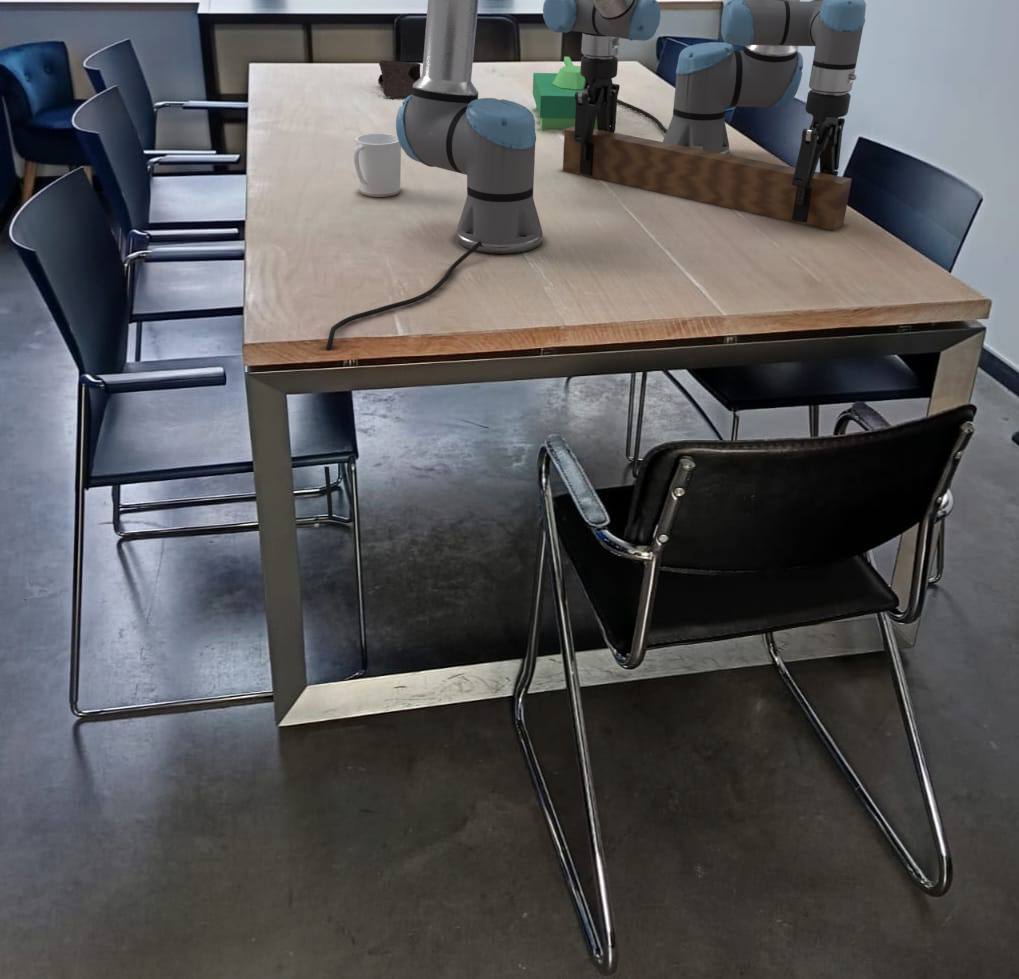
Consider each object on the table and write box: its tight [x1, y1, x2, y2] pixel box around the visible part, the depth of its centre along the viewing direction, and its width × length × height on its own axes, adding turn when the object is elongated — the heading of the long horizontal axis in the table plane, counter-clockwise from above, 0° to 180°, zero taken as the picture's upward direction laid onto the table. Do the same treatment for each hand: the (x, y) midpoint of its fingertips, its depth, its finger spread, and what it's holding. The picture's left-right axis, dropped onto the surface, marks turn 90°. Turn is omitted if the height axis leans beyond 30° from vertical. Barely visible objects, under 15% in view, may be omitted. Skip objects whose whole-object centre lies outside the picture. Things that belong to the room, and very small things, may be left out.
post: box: [562, 126, 853, 232], centre depth 219 cm, size 62×5×9 cm, turn 53°
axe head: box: [377, 59, 421, 99], centre depth 299 cm, size 18×8×15 cm
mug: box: [352, 132, 402, 198], centre depth 216 cm, size 11×9×10 cm
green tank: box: [532, 56, 598, 131], centre depth 275 cm, size 18×12×35 cm
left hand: (592, 171), depth 234 cm, fingers closed on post, 5 cm apart
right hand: (809, 215), depth 208 cm, fingers open, 8 cm apart
